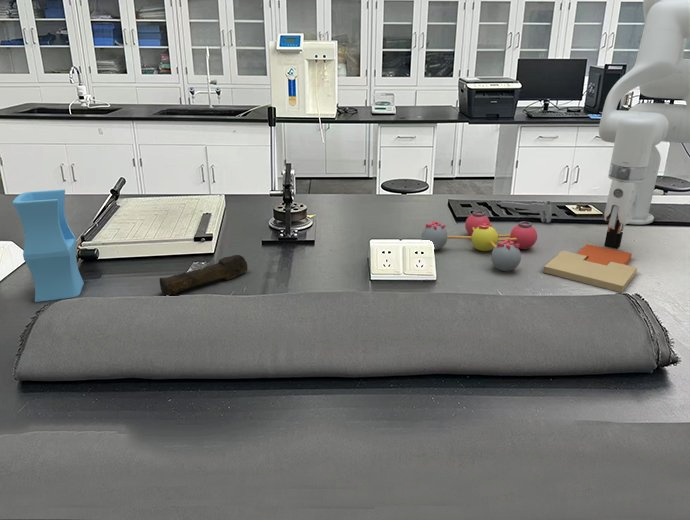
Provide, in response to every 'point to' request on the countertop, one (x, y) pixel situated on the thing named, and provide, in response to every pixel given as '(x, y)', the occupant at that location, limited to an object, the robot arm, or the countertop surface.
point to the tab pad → (604, 255)
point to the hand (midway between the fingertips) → (611, 246)
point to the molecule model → (488, 239)
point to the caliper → (533, 208)
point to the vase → (49, 245)
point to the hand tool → (204, 275)
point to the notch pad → (590, 271)
